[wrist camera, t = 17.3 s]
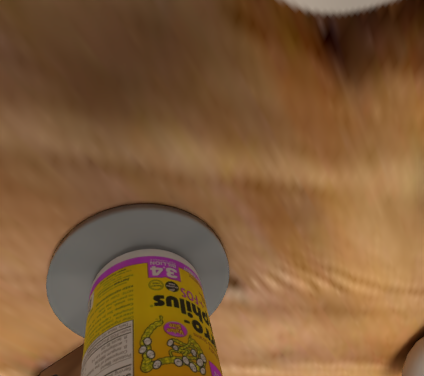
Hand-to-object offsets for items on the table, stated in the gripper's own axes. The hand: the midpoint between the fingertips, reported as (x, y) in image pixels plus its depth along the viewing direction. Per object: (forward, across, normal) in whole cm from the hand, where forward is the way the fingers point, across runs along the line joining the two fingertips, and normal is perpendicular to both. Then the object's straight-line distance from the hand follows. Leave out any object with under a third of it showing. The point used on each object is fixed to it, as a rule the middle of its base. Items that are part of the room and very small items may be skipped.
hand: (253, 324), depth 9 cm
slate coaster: (+13, +5, +9) cm, 17 cm away
